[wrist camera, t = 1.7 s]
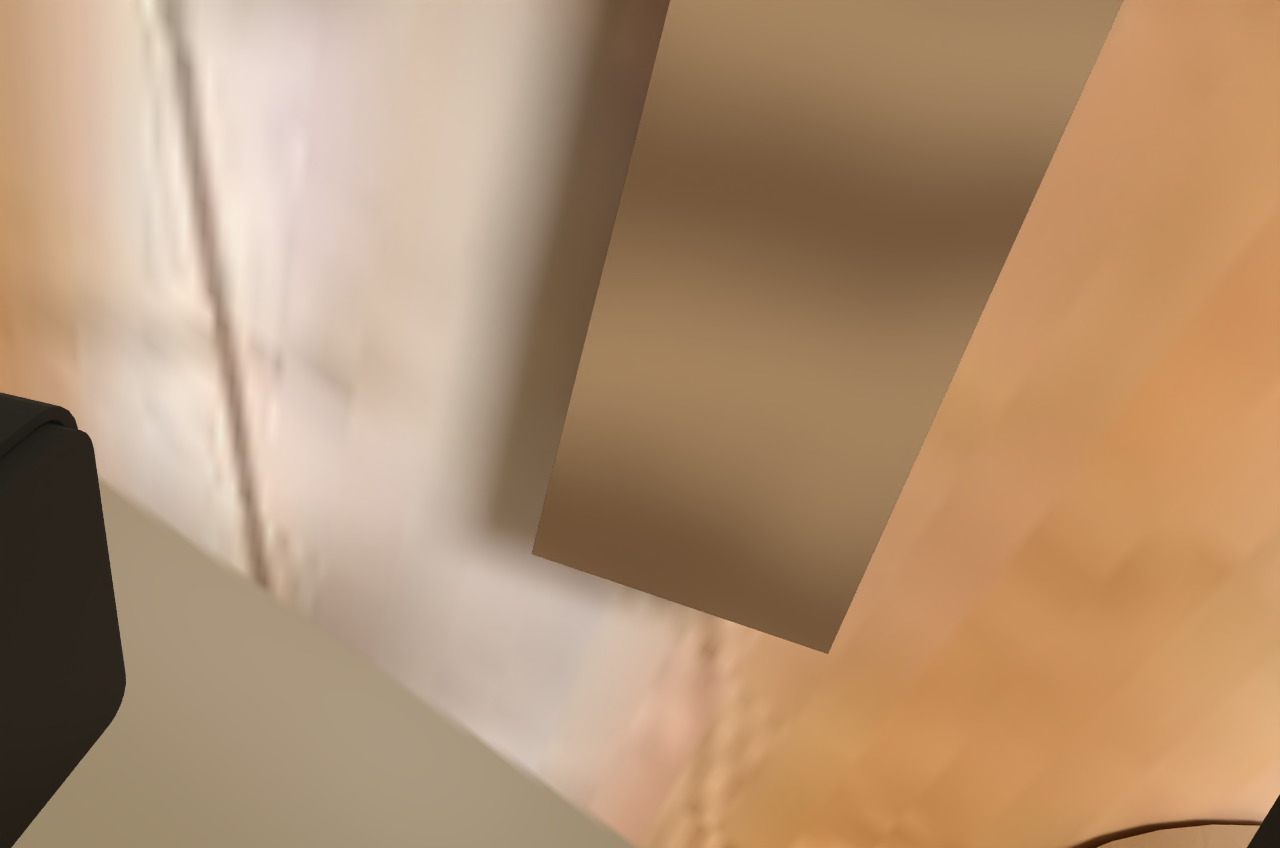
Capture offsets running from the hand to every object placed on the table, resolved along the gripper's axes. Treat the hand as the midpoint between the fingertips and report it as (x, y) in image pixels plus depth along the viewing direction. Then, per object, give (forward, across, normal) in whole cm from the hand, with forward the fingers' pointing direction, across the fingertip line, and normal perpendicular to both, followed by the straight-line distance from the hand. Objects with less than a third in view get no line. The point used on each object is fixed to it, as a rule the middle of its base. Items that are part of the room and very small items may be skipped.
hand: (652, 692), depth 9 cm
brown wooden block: (+16, 0, +1) cm, 16 cm away
